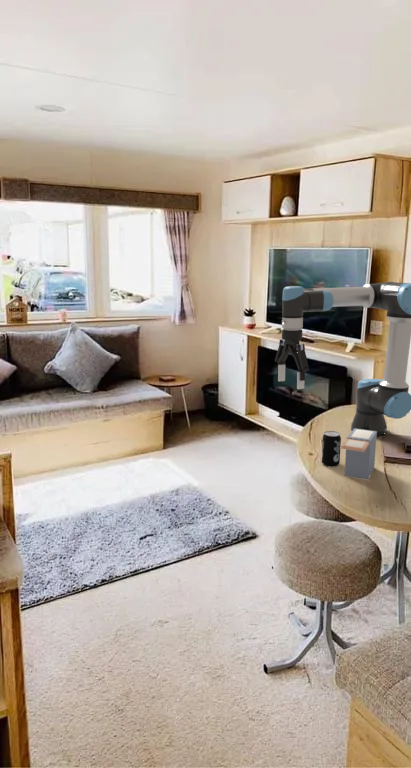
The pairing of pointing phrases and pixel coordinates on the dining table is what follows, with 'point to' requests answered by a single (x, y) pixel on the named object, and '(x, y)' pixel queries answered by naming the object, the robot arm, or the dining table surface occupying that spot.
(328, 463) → the beverage can
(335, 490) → the dining table surface
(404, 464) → the dining table surface
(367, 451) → the block
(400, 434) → the dining table surface
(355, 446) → the stub
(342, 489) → the dining table surface
